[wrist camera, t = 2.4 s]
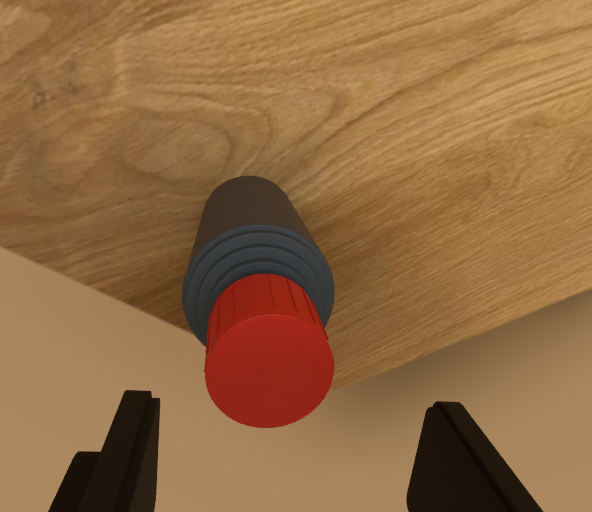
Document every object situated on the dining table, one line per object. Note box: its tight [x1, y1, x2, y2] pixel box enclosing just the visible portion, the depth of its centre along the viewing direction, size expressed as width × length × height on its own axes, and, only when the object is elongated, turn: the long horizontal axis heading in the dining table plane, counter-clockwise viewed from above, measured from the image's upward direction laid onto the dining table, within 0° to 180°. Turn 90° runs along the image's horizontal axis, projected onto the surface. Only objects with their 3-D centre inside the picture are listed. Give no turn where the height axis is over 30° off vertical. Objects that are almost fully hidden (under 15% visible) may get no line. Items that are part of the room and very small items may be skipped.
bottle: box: [182, 176, 334, 347], centre depth 24 cm, size 6×6×20 cm
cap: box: [204, 274, 334, 428], centre depth 16 cm, size 4×4×4 cm
